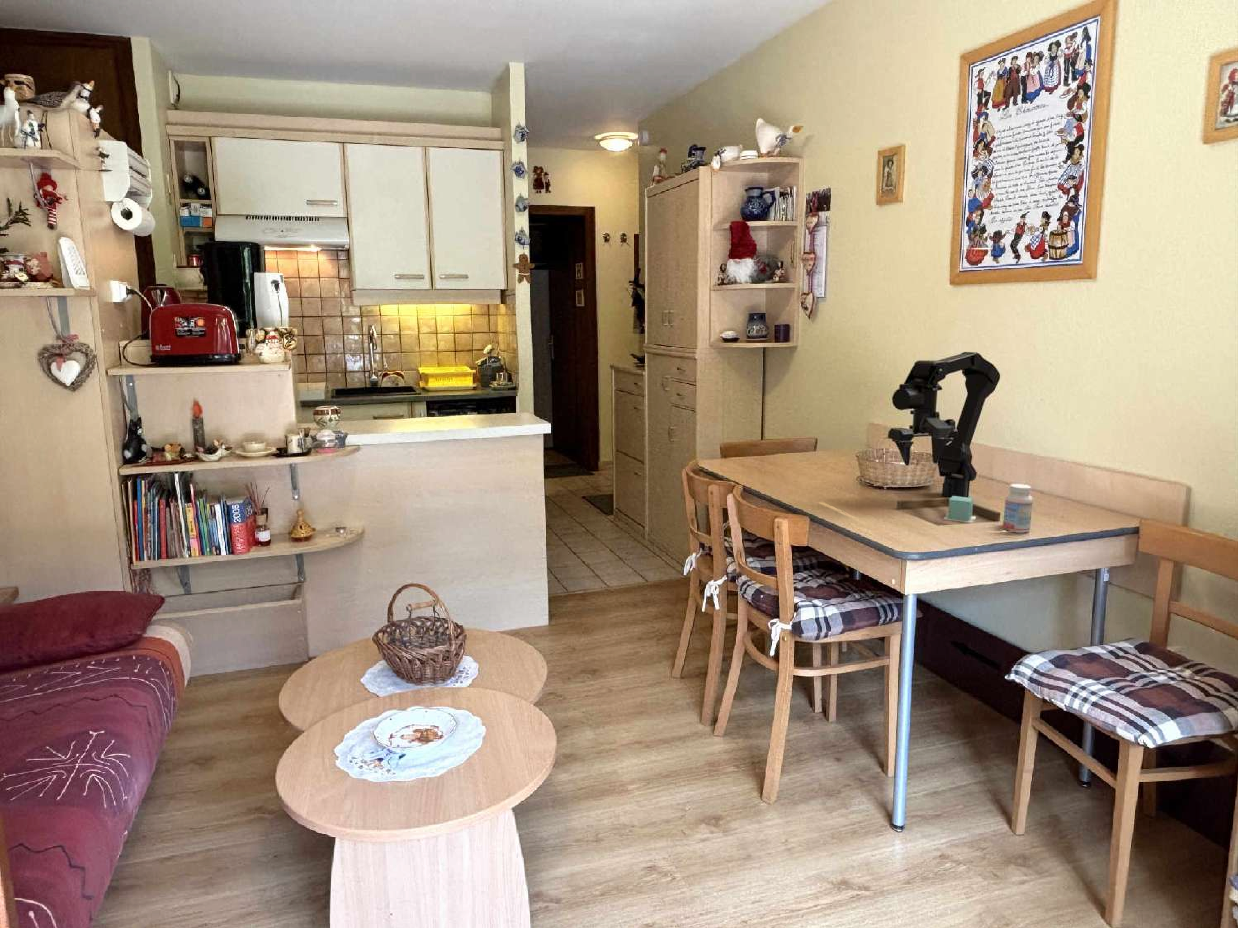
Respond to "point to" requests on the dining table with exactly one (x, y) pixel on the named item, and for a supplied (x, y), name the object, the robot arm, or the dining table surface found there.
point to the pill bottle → (1018, 509)
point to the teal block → (960, 508)
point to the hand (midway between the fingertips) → (921, 464)
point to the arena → (944, 511)
